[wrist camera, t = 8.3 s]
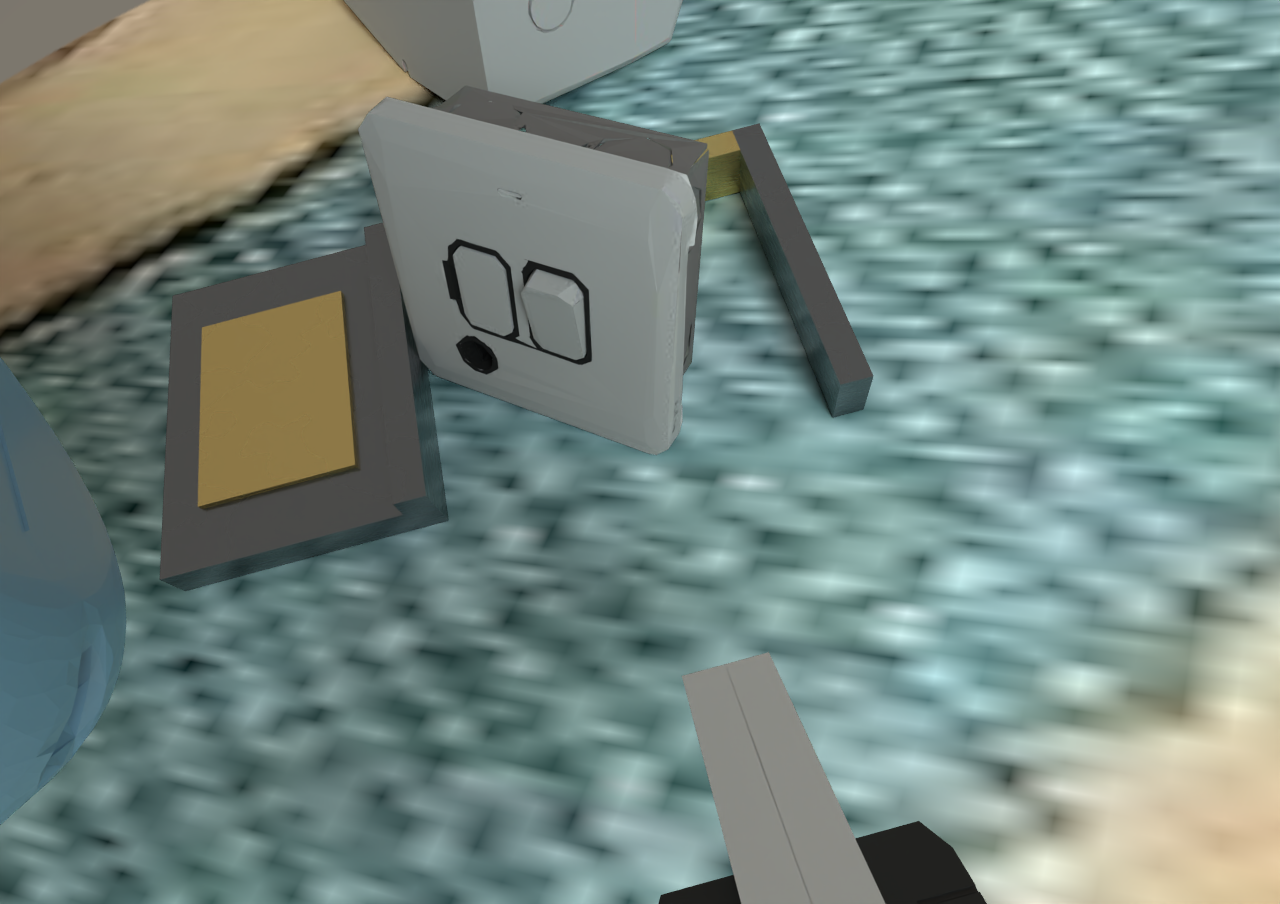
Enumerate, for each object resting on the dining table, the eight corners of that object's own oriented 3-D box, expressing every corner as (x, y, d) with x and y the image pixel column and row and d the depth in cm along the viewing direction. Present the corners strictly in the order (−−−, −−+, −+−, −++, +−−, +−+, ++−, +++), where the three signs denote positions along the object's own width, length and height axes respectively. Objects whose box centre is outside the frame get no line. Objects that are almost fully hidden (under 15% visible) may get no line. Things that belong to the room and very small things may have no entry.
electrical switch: (423, 376, 27) (309, 149, 19) (498, 274, 29) (424, 33, 22) (669, 467, 25) (655, 250, 17) (731, 347, 27) (744, 106, 19)
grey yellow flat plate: (185, 590, 24) (141, 571, 23) (193, 315, 29) (158, 282, 28) (863, 409, 25) (873, 376, 23) (757, 166, 30) (759, 123, 28)
